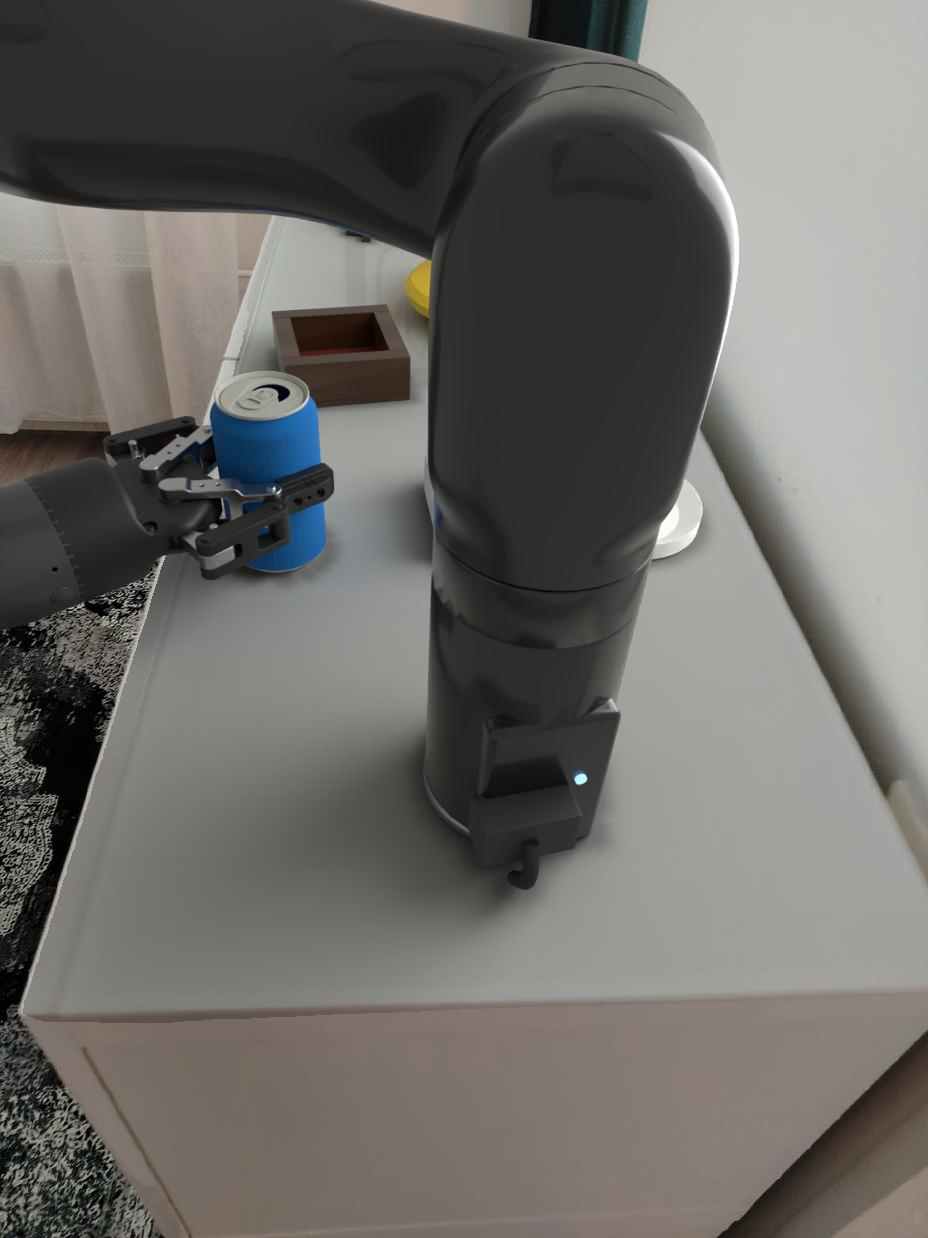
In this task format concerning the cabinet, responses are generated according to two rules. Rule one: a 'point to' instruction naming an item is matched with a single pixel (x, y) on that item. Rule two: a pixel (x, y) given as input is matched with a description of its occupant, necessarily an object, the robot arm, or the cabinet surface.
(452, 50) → the robot arm
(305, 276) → the cabinet surface
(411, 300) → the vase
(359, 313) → the brown wooden open box
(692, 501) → the white flat rounded piece
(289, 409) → the beverage can
